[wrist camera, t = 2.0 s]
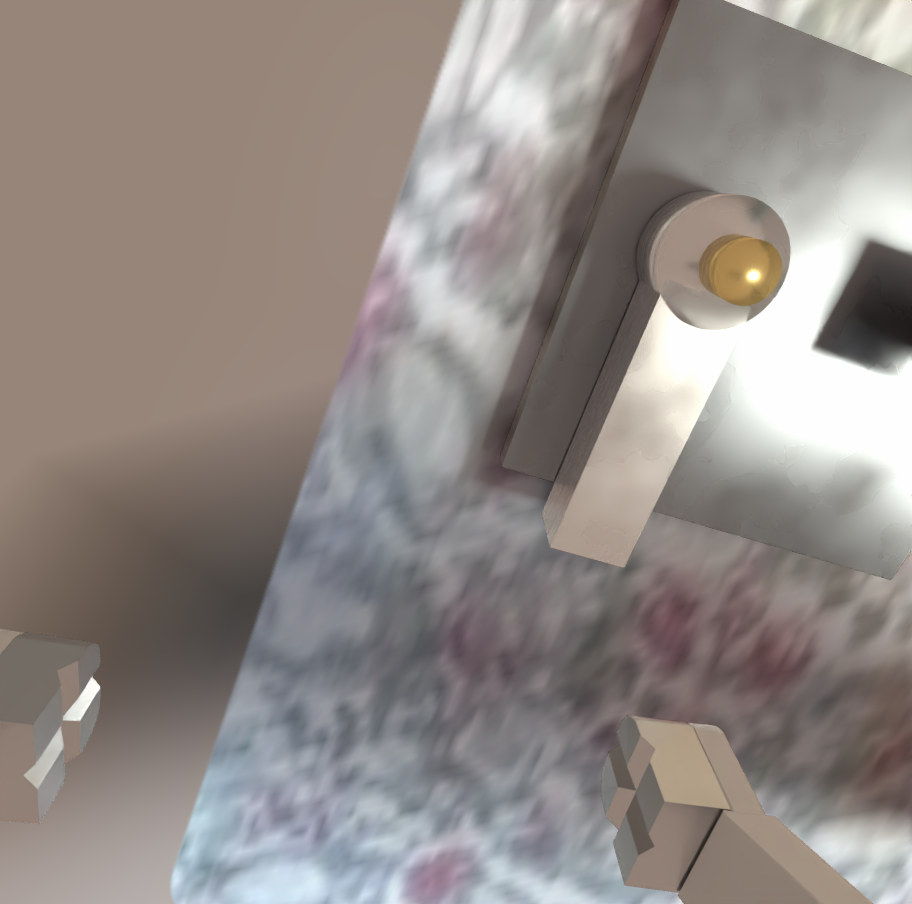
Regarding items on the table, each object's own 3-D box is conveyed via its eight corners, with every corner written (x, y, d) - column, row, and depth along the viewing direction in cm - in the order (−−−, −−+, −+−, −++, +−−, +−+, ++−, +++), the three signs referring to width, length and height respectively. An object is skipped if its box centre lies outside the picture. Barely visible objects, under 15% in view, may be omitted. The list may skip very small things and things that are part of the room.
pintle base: (674, -7, 23) (746, -62, 17) (1135, 177, 25) (1332, 181, 19) (499, 455, 30) (510, 524, 24) (875, 565, 32) (965, 651, 26)
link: (666, 173, 24) (692, 175, 21) (777, 213, 24) (815, 220, 22) (528, 509, 29) (535, 543, 27) (621, 536, 30) (637, 571, 27)
